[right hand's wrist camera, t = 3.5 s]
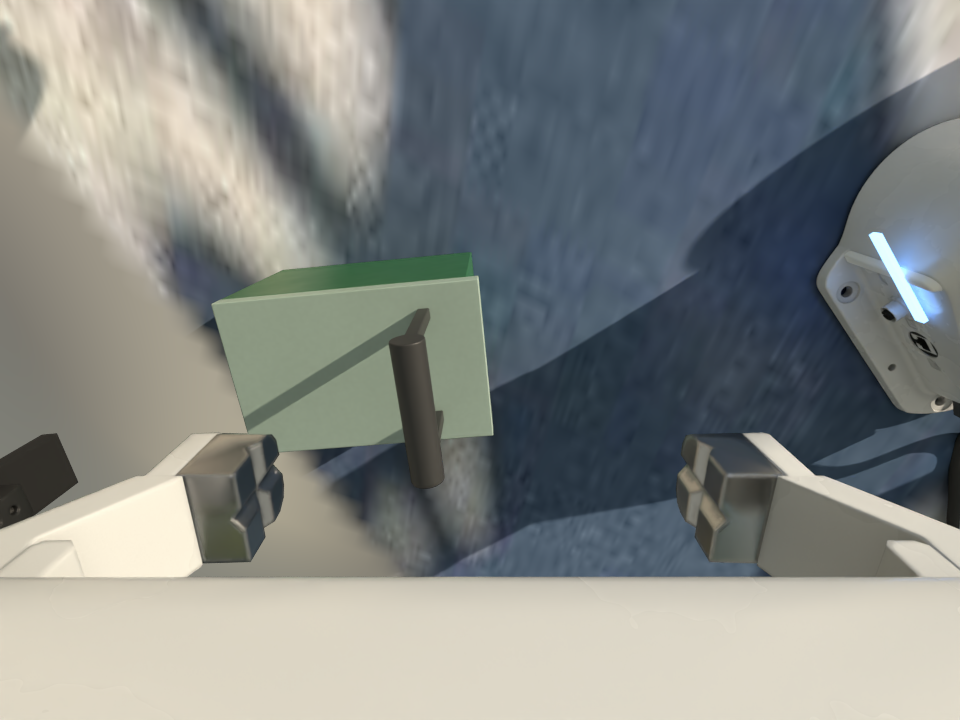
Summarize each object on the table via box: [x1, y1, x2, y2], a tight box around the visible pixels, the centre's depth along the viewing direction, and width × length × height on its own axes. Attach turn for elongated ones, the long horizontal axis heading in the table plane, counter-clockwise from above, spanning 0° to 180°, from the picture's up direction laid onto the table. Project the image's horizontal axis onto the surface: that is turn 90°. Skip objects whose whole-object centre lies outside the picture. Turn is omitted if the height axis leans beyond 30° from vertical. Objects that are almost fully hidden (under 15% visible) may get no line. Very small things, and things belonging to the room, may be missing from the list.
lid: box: [211, 276, 493, 489], centre depth 28 cm, size 15×10×8 cm, turn 95°
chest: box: [222, 252, 474, 300], centre depth 36 cm, size 15×10×10 cm
